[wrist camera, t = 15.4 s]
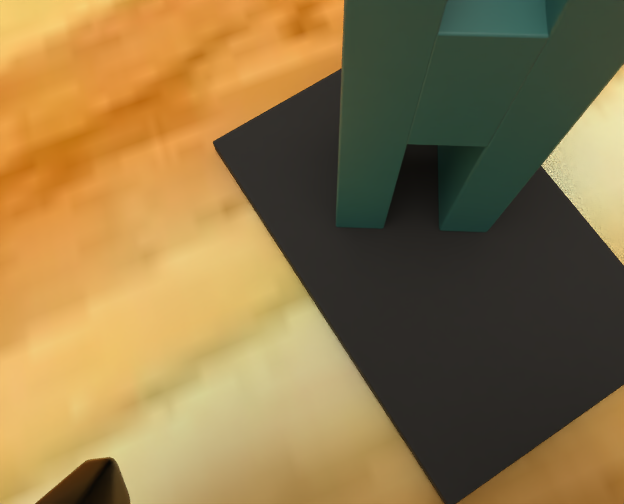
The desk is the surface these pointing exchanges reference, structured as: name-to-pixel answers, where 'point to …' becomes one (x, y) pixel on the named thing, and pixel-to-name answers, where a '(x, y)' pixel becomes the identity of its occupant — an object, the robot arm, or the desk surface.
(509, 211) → the desk pad
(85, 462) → the robot arm
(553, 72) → the letter
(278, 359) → the desk surface
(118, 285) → the desk surface
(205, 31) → the desk surface
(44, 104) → the desk surface
